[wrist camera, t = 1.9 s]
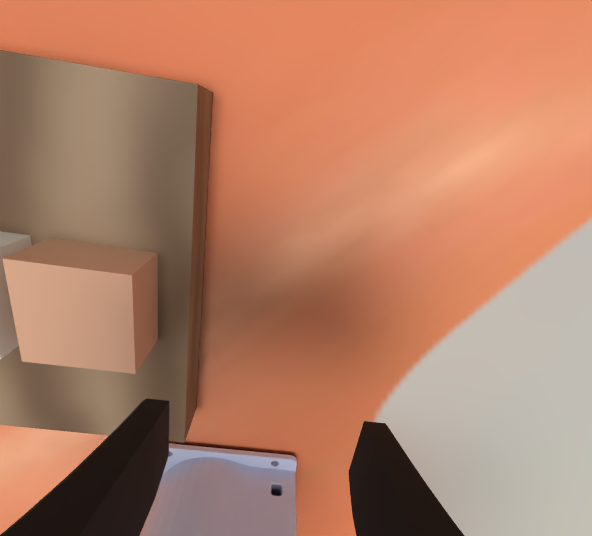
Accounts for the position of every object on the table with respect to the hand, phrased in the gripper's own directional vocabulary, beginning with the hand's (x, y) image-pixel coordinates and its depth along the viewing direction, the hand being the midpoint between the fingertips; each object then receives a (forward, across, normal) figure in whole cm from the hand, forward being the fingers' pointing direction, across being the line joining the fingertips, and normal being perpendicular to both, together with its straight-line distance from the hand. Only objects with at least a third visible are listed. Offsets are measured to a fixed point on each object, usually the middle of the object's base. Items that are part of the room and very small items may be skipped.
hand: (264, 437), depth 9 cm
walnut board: (+9, +11, 0) cm, 14 cm away
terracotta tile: (+7, +8, 0) cm, 10 cm away
